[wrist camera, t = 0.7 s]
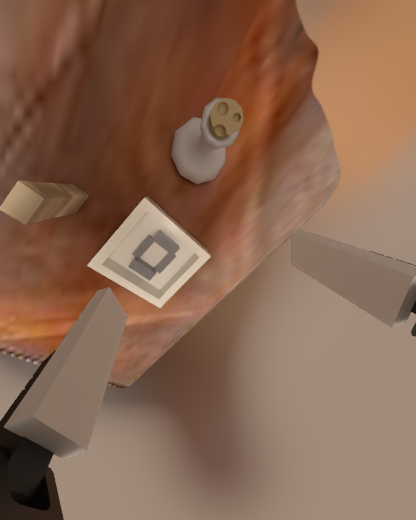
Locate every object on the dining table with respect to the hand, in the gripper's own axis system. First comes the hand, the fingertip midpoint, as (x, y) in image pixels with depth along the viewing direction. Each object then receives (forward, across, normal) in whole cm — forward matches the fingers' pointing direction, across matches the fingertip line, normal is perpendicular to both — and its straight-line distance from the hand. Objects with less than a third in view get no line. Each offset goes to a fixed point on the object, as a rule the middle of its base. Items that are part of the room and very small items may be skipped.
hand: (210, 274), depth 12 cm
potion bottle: (+24, +5, +10) cm, 27 cm away
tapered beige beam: (+24, -17, +8) cm, 30 cm away
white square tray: (+24, -8, -5) cm, 25 cm away
